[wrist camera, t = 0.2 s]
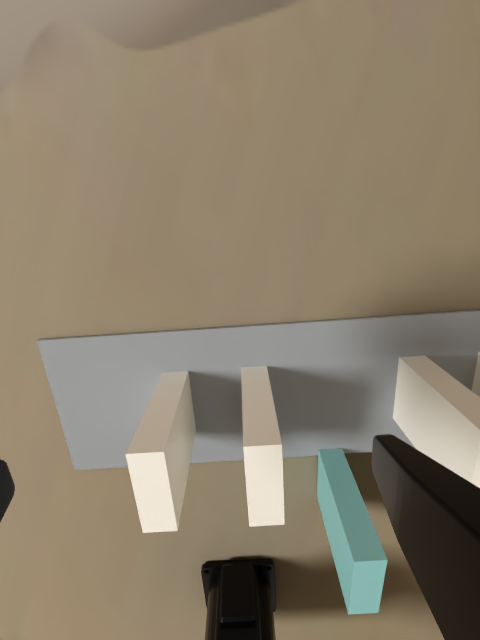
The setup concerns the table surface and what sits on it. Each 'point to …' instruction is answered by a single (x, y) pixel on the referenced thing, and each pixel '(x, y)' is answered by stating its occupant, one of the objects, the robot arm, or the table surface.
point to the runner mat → (226, 390)
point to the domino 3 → (350, 534)
